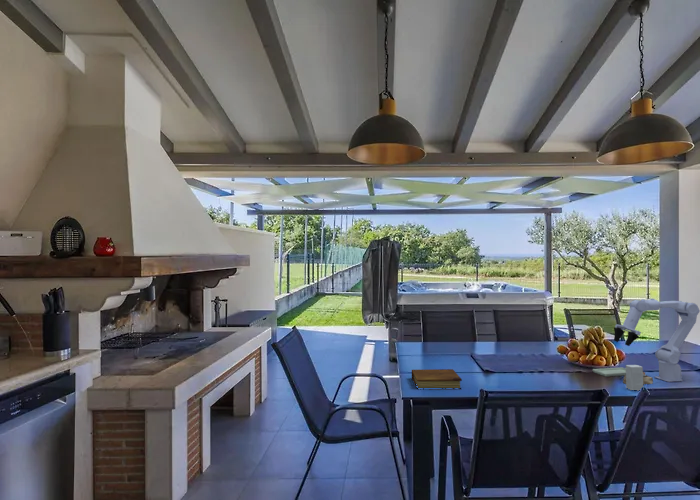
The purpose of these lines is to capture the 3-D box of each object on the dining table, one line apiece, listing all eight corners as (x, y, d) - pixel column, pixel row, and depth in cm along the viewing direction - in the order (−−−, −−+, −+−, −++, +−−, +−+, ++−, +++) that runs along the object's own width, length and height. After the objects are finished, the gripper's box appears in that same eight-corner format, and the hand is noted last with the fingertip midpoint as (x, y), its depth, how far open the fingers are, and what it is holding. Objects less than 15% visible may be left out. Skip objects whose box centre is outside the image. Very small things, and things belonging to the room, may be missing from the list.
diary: (452, 379, 222) (452, 368, 222) (461, 390, 204) (461, 379, 204) (411, 379, 222) (411, 368, 222) (417, 390, 204) (417, 379, 204)
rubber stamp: (640, 380, 214) (640, 370, 214) (647, 383, 210) (647, 372, 210) (636, 380, 214) (636, 370, 214) (643, 383, 210) (643, 373, 210)
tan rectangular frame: (643, 380, 214) (643, 374, 214) (652, 383, 209) (652, 377, 209) (620, 381, 212) (620, 375, 212) (629, 385, 207) (629, 379, 207)
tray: (622, 369, 234) (622, 367, 234) (636, 374, 224) (636, 372, 224) (592, 371, 231) (592, 369, 231) (605, 376, 221) (605, 374, 222)
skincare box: (637, 388, 202) (636, 364, 203) (643, 390, 198) (643, 366, 198) (625, 388, 202) (625, 364, 202) (631, 391, 198) (631, 367, 198)
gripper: (615, 314, 223) (605, 336, 223) (637, 321, 209) (626, 344, 209) (625, 319, 224) (615, 341, 224) (647, 326, 210) (637, 349, 210)
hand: (621, 343), depth 217 cm, fingers open, 7 cm apart
